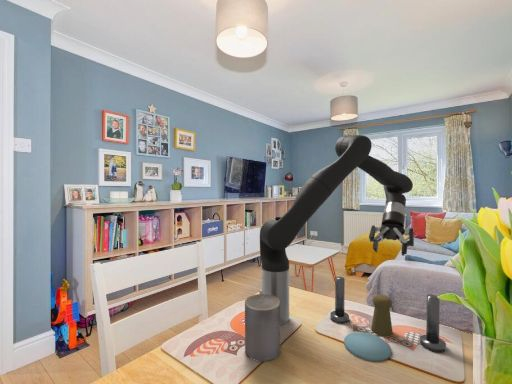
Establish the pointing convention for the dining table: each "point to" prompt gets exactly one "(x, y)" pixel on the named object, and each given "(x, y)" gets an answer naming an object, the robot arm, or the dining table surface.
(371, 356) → the teal mat
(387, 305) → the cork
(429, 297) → the gap posts
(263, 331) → the pillar candle
